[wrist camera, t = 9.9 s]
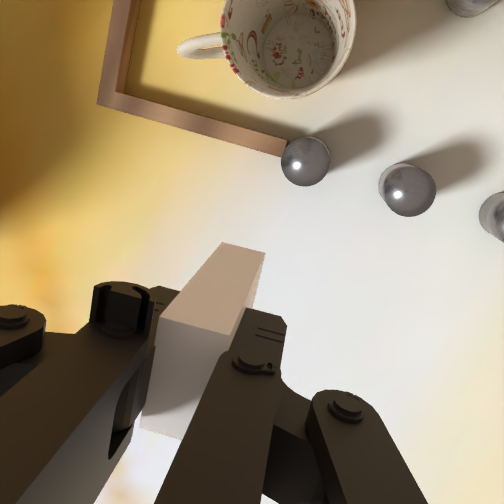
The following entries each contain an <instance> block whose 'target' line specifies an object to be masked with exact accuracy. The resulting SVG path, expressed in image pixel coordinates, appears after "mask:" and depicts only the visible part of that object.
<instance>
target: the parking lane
mask: <svg viewBox="0 0 504 504" xmlns="http://www.w3.org/2000/svg"><path fill="white" fill-rule="evenodd" d="M140 2H141V0H114V3H113V9H112V15H111V21H110V27H109V33H108V39H107V45H106V51H105V57H104V63H103V69H102V75H101V81H100V87H99V93H98V99H97V104H98V105H101V106H105V107H108V108H112V109H115V110H119V111H122V112H125V113H129V114H132V115H136V116H139V117H143V118H146V119H150V120H153V121H157V122H160V123H164V124H167V125H171V126H174V127H177V128H181V129H184V130H188V131H191V132H195V133H198V134H202V135H205V136H209V137H212V138H216V139H219V140H223V141H226V142H230V143H233V144H236V145H240V146H243V147H247V148H250V149H254V150H257V151H261V152H264V153H268V154H271V155H275V156H278V157H282V154H283V152H284V150H285V148H286V147H287V146H288V142H289V140H286V139H283V138H279V137H276V136H272V135H269V134H265V133H262V132H258V131H255V130H251V129H248V128H244V127H241V126H237V125H234V124H230V123H227V122H223V121H219V120H216V119H212V118H209V117H205V116H202V115H198V114H195V113H191V112H188V111H184V110H181V109H177V108H174V107H170V106H167V105H163V104H160V103H156V102H153V101H149V100H146V99H142V98H139V97H135V96H132V95H128V94H125V93H124V90H125V84H126V79H127V73H128V68H129V62H130V57H131V51H132V46H133V40H134V35H135V29H136V24H137V18H138V13H139V7H140Z"/></svg>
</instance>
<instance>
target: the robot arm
mask: <svg viewBox="0 0 504 504" xmlns="http://www.w3.org/2000/svg"><path fill="white" fill-rule="evenodd" d="M264 257H265V253H263V252H259V251H255V250H251V249H247V248H243V247H239V246H235V245H231V244H227V243H223V242H222V243H221V244H220V246H219V247H218V248H217V249H216V250H215V251H214V253H213V254H212V255H211V256H210V257H209V258H208V260H207V261H206V262H205V263H204V264H203V266H202V267H201V268H200V269H199V270H198V271H197V273H196V274H195V275H194V276H193V277H192V279H191V280H190V281H189V282H188V283H187V284H186V286H185V287H184V288H183V289H182V290H181V291H177V290H173V289H169V288H165V287H162V286H157V287H153V288H150V289H148V288H146V287H143V286H141V285H138V284H134V283H128V282H117V281H111V282H104V283H100V284H98V285H95V286H94V289H93V297H92V304H91V311H90V319H89V322H88V323H87V324H86V325H85V326H84V327H82V328H81V329H80V330H79V331H78V332H77V333H75V334H65V333H54V332H45V328H46V319H45V317H44V315H43V314H42V313H40V312H38V311H37V310H35V309H31V308H28V307H26V306H22V305H19V306H17V305H12V304H11V305H7V306H0V504H94V502H95V500H96V499H97V497H98V495H99V494H100V492H101V490H102V489H103V487H104V485H105V484H106V482H107V480H108V478H109V477H110V475H111V473H112V472H113V470H114V468H115V467H116V465H117V463H118V462H119V460H120V458H121V457H122V455H123V453H124V452H125V450H126V448H127V447H128V445H129V443H130V441H131V437H132V433H133V428H134V422H135V419H136V418H137V416H138V415H139V413H140V412H141V410H142V414H141V420H140V425H139V428H142V429H145V430H149V431H152V432H156V433H159V434H163V435H166V436H170V437H173V438H177V439H180V440H182V442H181V444H180V446H179V448H178V451H177V453H176V455H175V457H174V460H173V462H172V464H171V466H170V469H169V471H168V473H167V475H166V478H165V480H164V482H163V484H162V487H161V489H160V491H159V493H158V496H157V498H156V500H155V502H154V504H260V501H261V495H262V494H264V495H265V496H267V497H269V498H271V499H272V500H274V501H276V502H277V503H279V504H428V503H427V501H426V499H425V497H424V495H423V494H422V492H421V490H420V488H419V486H418V485H417V483H416V481H415V479H414V477H413V476H412V474H411V472H410V470H409V468H408V466H407V465H406V463H405V461H404V459H403V457H402V456H401V454H400V452H399V450H398V448H397V447H396V445H395V443H394V441H393V439H392V438H391V436H390V434H389V432H388V430H387V429H386V427H385V425H384V423H383V421H382V419H381V418H380V416H379V414H378V413H377V412H376V411H375V409H374V408H373V407H372V406H371V405H370V404H368V403H367V402H365V401H364V400H363V399H362V398H360V397H358V396H356V395H353V394H352V393H349V392H343V391H339V390H323V391H320V392H317V393H316V394H315V395H314V397H313V398H312V401H311V400H308V399H306V398H304V397H302V396H301V395H299V394H297V393H295V392H294V391H293V390H291V389H290V388H289V387H287V385H286V384H285V383H284V382H283V381H282V379H281V370H280V365H281V359H282V353H283V347H284V341H285V335H286V329H287V325H286V324H285V322H284V320H283V319H282V317H281V316H277V315H273V314H270V313H266V312H262V311H258V310H254V309H252V307H253V303H254V298H255V294H256V290H257V286H258V282H259V278H260V273H261V269H262V265H263V261H264ZM142 408H143V409H142Z"/></svg>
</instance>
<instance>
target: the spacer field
mask: <svg viewBox="0 0 504 504" xmlns="http://www.w3.org/2000/svg"><path fill="white" fill-rule="evenodd" d="M496 1H498V0H446V3H447V5H448V7H449V9H450V10H451V11H452V12H453V13H455V14H456V15H458V16H461V17H473V16H476V15H479V14H481V13H482V12H484V11H485V10H486V9H487V8H489V7H490V6H491V5H493V4H494V3H495V2H496ZM329 163H330V154H329V150H328V148H327V146H326V145H325V144H324V143H323V142H322V141H321V140H320V139H318V138H315V137H303V138H299V139H296V140H294V141H292V142H291V143H290V144H289V145H288V146H287V147H286V148H285V150H284V152H283V154H282V158H281V166H282V170H283V173H284V175H285V176H286V178H287V179H288V180H289V181H291V182H292V183H294V184H296V185H298V186H311V185H314V184H316V183H318V182H320V181H321V180H322V179H323V178H324V177H325V175H326V173H327V171H328V169H329ZM379 192H380V195H381V197H382V198H383V199H384V201H385V202H386V203H387V205H388V206H389V207H390V209H391V210H392V211H393V212H395V213H396V214H398V215H401V216H406V217H412V216H417V215H420V214H422V213H423V212H425V211H426V210H427V209H428V208H429V207H430V206H431V205H432V203H433V201H434V199H435V195H436V186H435V183H434V180H433V179H432V177H431V176H430V175H429V174H428V173H427V172H425V171H424V170H422V169H419V168H417V167H415V166H413V165H410V164H407V163H398V164H394V165H392V166H390V167H388V168H387V169H386V170H385V171H384V172H383V173H382V175H381V177H380V179H379ZM479 220H480V223H481V225H482V227H483V228H484V229H485V230H486V231H487V232H488V233H490V234H492V235H493V236H495V237H496V238H498V239H499V240H501V241H502V242H504V192H501V193H497V194H494V195H492V196H490V197H489V198H488V199H486V200H485V202H484V203H483V204H482V206H481V208H480V211H479Z"/></svg>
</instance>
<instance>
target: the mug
mask: <svg viewBox="0 0 504 504" xmlns="http://www.w3.org/2000/svg"><path fill="white" fill-rule="evenodd" d="M356 23H357V20H356V9H355V4H354V0H225V3H224V6H223V10H222V15H221V26H220V31H221V32H219V33H213V34H207V35H202V36H197V37H193V38H190V39H188V40H186V41H184V42H182V43H181V44H180V45H179V46H178V47H177V53H178V54H179V55H180V56H181V57H184V58H188V59H215V58H226V59H227V61H228V63H229V65H230V67H231V68H232V70H233V72H234V73H235V74H236V75H237V77H238V78H239V79H240V80H241V81H242V82H243V83H244V84H245V85H247V86H248V87H249V88H251V89H252V90H254V91H256V92H257V93H259V94H262V95H264V96H267V97H271V98H275V99H296V98H301V97H304V96H307V95H310V94H312V93H314V92H316V91H318V90H320V89H321V88H323V87H324V86H326V85H327V84H328V83H329V82H330V81H331V80H333V79H334V78H335V76H336V75H337V74H338V73H339V72H340V70H341V69H342V68H343V66H344V64H345V63H346V61H347V59H348V57H349V55H350V53H351V50H352V47H353V44H354V40H355V34H356ZM216 45H222V46H223V47H215V48H209V49H201V48H205V47H210V46H216Z"/></svg>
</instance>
